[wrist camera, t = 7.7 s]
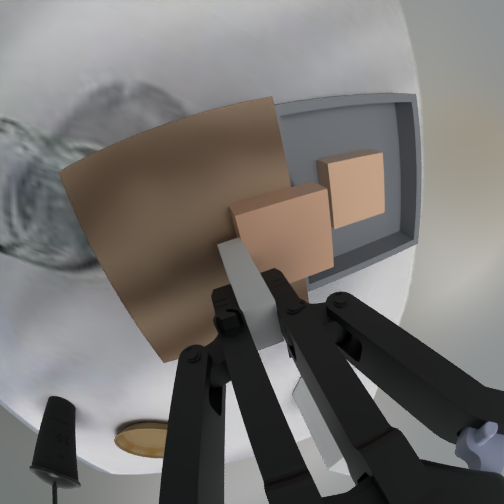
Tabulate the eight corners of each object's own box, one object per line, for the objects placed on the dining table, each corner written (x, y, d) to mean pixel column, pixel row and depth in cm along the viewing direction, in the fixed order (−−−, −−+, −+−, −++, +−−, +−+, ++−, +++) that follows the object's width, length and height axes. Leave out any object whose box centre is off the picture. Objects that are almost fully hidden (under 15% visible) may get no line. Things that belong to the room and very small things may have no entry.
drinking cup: (80, 420, 31) (80, 524, 14) (40, 404, 28) (30, 508, 11) (87, 403, 30) (86, 524, 13) (42, 384, 26) (27, 505, 9)
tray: (255, 108, 19) (267, 107, 17) (395, 93, 21) (415, 94, 18) (290, 277, 28) (302, 293, 25) (401, 232, 29) (417, 243, 27)
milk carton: (291, 393, 39) (338, 491, 23) (305, 367, 36) (364, 476, 20) (327, 386, 42) (377, 472, 25) (343, 359, 39) (404, 453, 22)
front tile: (228, 205, 17) (234, 216, 15) (312, 181, 18) (327, 188, 16) (249, 279, 20) (256, 295, 18) (321, 254, 21) (333, 266, 19)
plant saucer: (134, 406, 32) (134, 421, 30) (211, 427, 40) (214, 439, 37) (103, 434, 35) (103, 446, 33) (169, 451, 42) (171, 462, 40)
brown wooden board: (82, 159, 17) (58, 171, 13) (250, 101, 19) (272, 96, 14) (162, 326, 26) (163, 363, 22) (289, 283, 28) (310, 312, 24)
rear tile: (382, 152, 21) (369, 148, 23) (327, 163, 20) (316, 159, 22) (384, 212, 24) (372, 205, 26) (334, 229, 23) (323, 221, 25)
